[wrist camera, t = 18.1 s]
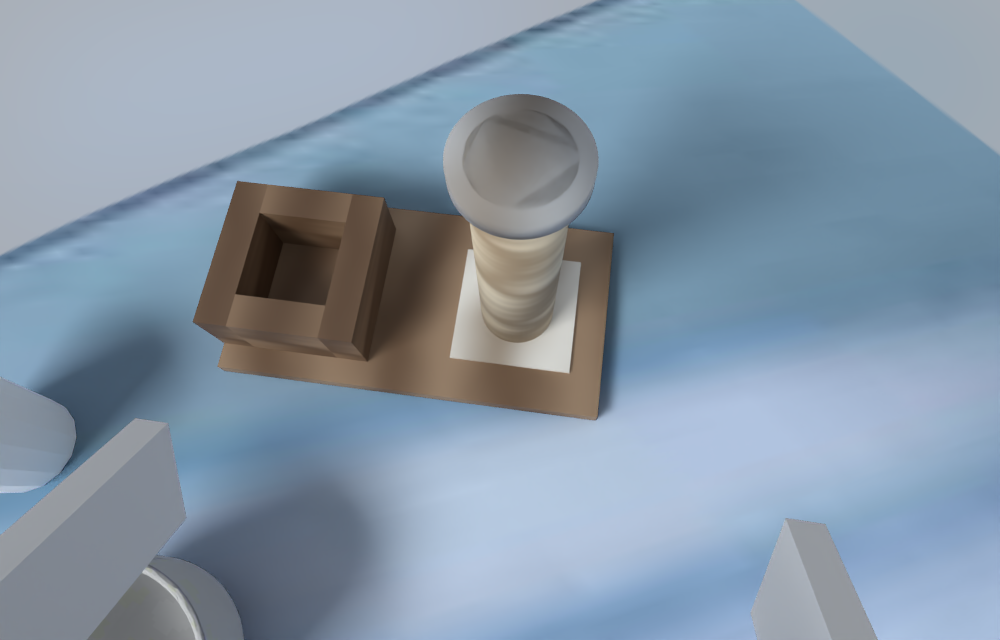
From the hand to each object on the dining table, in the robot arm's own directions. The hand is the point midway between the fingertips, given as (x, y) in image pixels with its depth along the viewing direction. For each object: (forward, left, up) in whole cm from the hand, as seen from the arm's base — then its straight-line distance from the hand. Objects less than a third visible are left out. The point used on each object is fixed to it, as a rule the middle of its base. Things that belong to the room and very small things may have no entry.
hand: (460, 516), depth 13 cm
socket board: (+6, -13, -23) cm, 27 cm away
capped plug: (0, -13, -22) cm, 26 cm away
